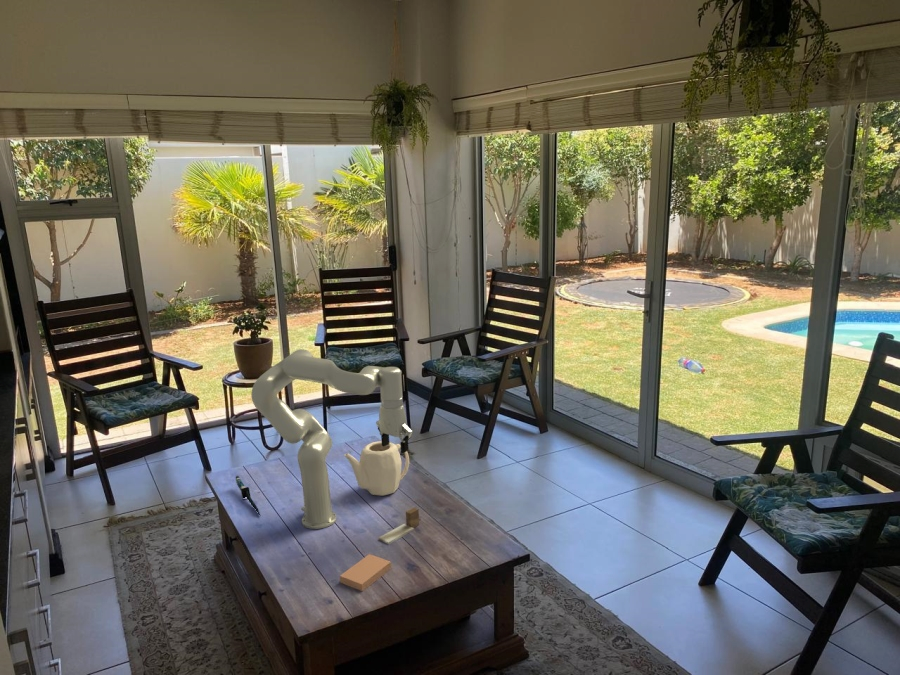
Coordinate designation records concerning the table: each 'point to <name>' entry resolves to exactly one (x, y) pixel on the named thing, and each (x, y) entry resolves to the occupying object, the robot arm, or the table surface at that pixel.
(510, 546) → the table surface
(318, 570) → the table surface
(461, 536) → the table surface
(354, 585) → the tile
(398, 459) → the cream teapot
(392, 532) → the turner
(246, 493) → the knife
